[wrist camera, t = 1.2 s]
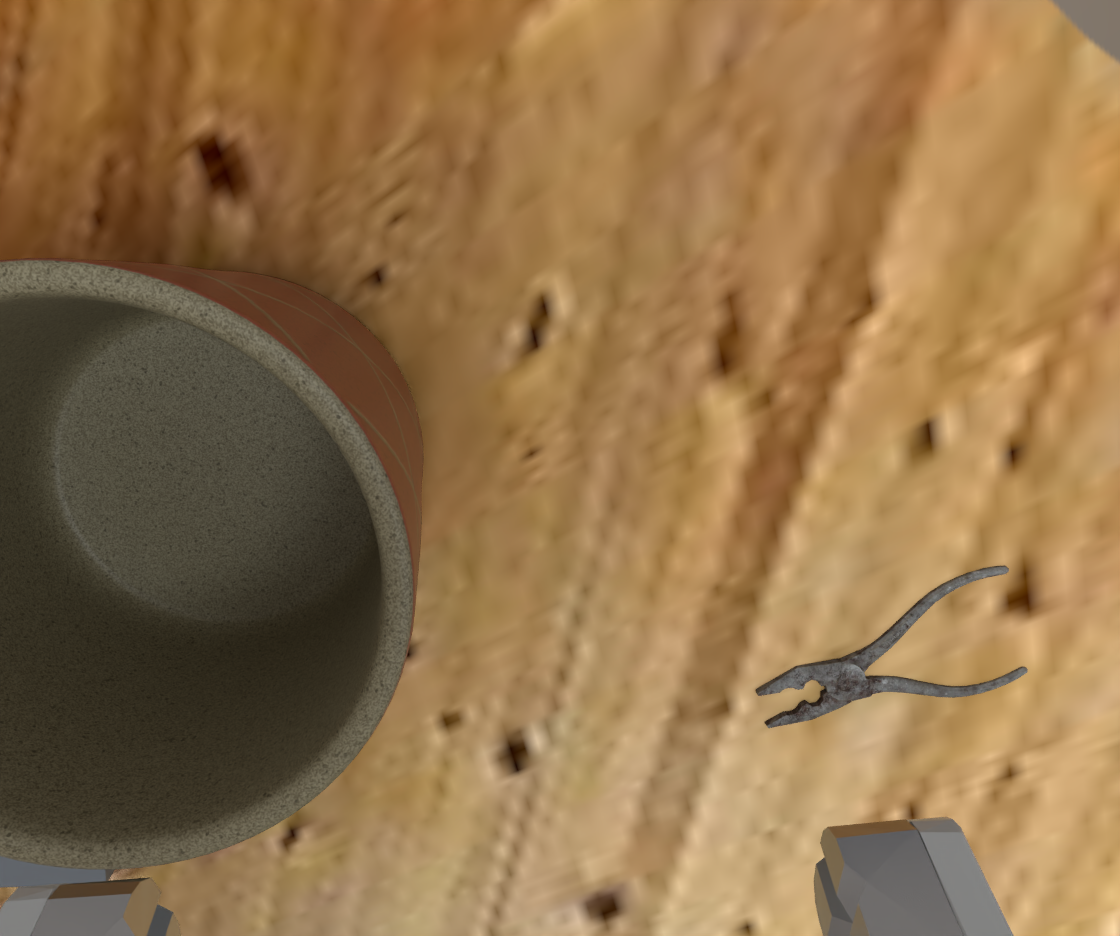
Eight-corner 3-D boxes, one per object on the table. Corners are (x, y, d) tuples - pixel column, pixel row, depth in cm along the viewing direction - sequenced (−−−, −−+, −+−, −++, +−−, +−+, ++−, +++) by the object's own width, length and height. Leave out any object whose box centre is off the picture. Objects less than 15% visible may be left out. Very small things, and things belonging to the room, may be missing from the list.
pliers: (1051, 663, 61) (807, 796, 62) (1043, 657, 62) (802, 789, 63) (1004, 554, 59) (750, 695, 59) (996, 550, 60) (746, 689, 60)
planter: (60, 604, 54) (-243, 863, 31) (51, 232, 48) (-321, 215, 26) (424, 628, 56) (392, 881, 34) (454, 279, 51) (439, 301, 28)
